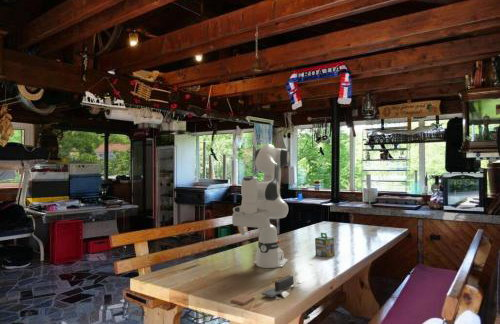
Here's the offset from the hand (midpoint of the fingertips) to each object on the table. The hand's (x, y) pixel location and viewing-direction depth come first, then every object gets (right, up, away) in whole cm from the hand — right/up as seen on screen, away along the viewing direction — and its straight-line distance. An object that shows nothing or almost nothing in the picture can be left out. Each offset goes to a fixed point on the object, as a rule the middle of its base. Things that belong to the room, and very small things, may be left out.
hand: (251, 235), depth 178 cm
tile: (-2, -24, -19) cm, 31 cm away
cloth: (+15, -25, -10) cm, 31 cm away
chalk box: (+49, -25, +54) cm, 77 cm away
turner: (+14, -23, -12) cm, 29 cm away
